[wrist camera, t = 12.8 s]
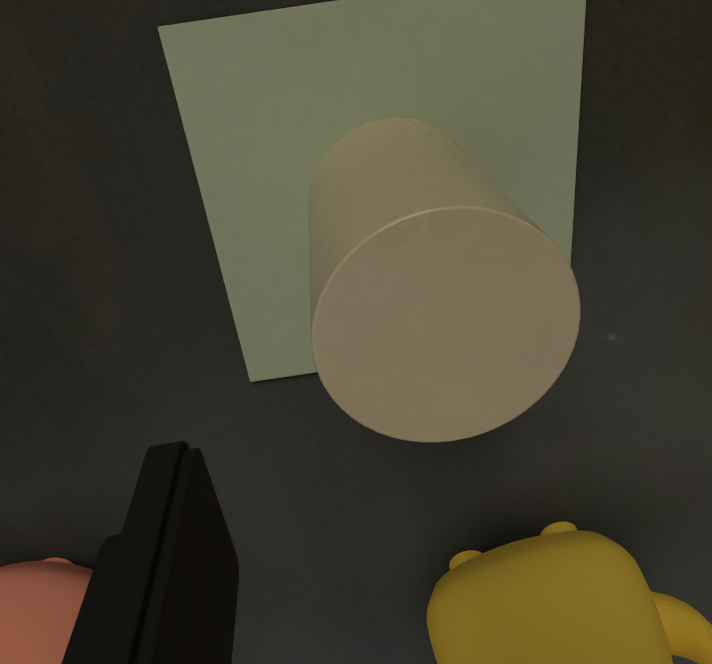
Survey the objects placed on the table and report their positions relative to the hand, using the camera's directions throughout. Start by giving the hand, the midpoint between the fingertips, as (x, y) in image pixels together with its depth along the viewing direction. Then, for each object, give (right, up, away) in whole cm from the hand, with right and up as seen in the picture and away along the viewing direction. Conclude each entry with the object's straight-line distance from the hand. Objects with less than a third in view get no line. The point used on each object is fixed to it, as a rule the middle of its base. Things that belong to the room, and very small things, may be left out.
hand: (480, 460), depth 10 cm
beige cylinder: (-1, +7, +13) cm, 14 cm away
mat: (-1, +7, +13) cm, 15 cm away
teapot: (+8, -12, +24) cm, 28 cm away
